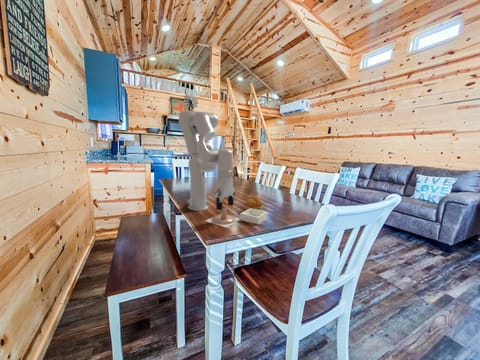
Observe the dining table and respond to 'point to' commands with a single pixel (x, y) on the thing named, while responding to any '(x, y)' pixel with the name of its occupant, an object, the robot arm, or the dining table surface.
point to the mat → (223, 224)
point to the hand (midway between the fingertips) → (225, 207)
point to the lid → (223, 218)
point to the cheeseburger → (254, 203)
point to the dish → (254, 216)
